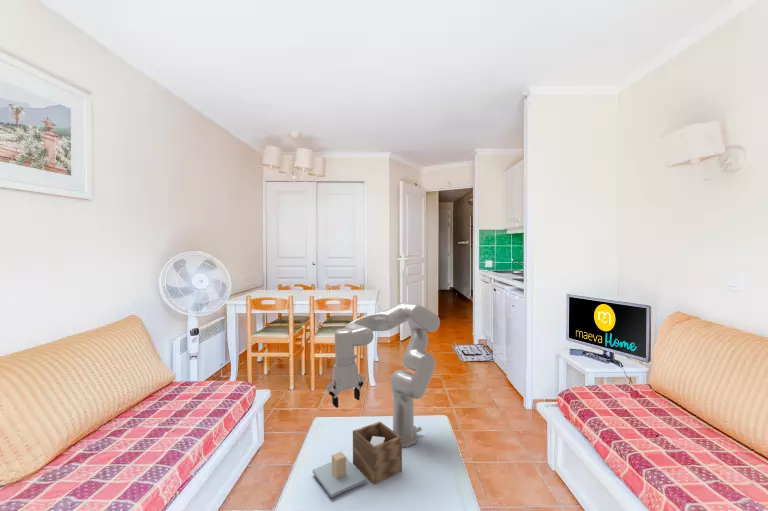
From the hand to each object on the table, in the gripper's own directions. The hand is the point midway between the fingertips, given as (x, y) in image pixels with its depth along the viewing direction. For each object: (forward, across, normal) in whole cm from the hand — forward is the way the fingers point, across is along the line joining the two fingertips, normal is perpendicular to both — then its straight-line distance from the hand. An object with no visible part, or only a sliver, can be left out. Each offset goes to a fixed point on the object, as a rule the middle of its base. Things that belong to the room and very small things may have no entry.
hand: (346, 402), depth 138 cm
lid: (+26, +7, +5) cm, 27 cm away
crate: (+26, -9, +7) cm, 29 cm away
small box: (+27, -9, +7) cm, 29 cm away
